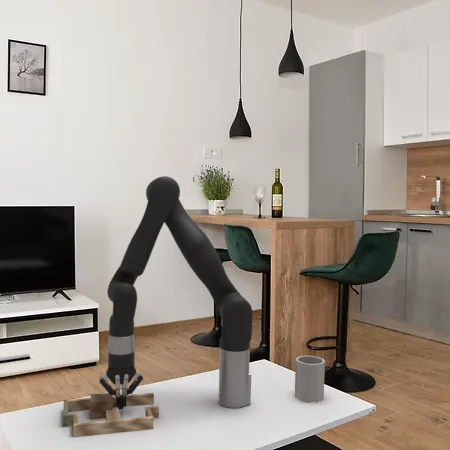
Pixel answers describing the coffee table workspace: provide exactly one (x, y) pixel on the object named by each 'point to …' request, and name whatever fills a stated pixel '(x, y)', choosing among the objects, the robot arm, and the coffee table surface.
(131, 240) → the robot arm
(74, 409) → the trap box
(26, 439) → the coffee table surface
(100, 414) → the walnut block
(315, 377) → the cup
